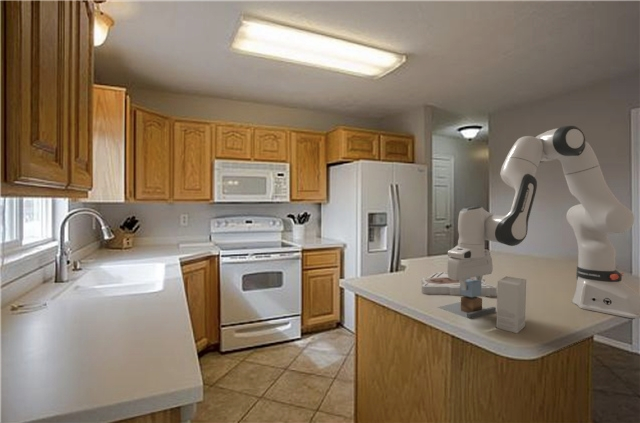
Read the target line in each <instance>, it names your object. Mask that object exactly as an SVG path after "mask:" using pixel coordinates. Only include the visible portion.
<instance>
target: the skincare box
mask: <svg viewBox="0 0 640 423" xmlns="http://www.w3.org/2000/svg"><path fill="white" fill-rule="evenodd" d="M496 287H497V296H496V329H498V330H502V331H507V332H510V333H514V334H518V333H519V332H520V331H522V330H523V329H524V328H525V327H526V301H527V300H526V299H527V279H525V278H519V277H514V276H504V277H502V278H500V279H499V280H497V286H496Z"/></svg>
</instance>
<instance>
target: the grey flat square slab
mask: <svg viewBox="0 0 640 423" xmlns="http://www.w3.org/2000/svg"><path fill="white" fill-rule="evenodd" d="M437 308H439V309H441V310H444V311H448V312H450V313H452V314H455V315H458V316H461V317H464V318H467V319H473V318H478V317H481V316H485V315H488V314H493V313H495V312H496V313H497V306H491V307H487V308H486V307H482V310H478V311H474V312H470V313H467V312H464V311H461V301H459V302H454V303H450V304H445V305H441V306H437Z"/></svg>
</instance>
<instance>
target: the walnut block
mask: <svg viewBox="0 0 640 423" xmlns="http://www.w3.org/2000/svg"><path fill="white" fill-rule="evenodd" d="M460 302H461V311H464V312H467V313H470V312H474V311H478V310H482V308H483V297H480V296H476V297H469V296H465V295H462V296H461V297H460Z"/></svg>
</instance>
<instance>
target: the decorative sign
mask: <svg viewBox="0 0 640 423" xmlns="http://www.w3.org/2000/svg"><path fill="white" fill-rule="evenodd" d="M466 279H472V280H476V278H475V277H471V278H466ZM421 294H422V295H423V294H424V295H425V294H426V295H450V296H463V295H462V294H460V282H459V280H454V279H450V278H449V277H448V273H447V272H445V271H440V272H434V273H432V274H430V276H428V277H422V278H421ZM484 296H490V297H497V286H495V285H492V284H489V283H487V282H486V279H485V278H484V277H483V278H482V281H481V297H484Z"/></svg>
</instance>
